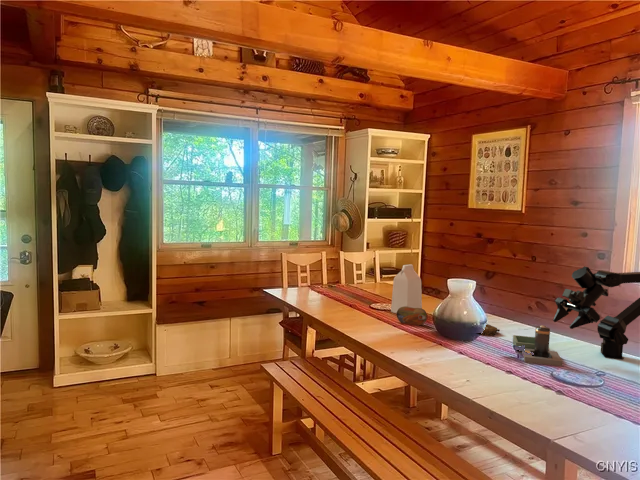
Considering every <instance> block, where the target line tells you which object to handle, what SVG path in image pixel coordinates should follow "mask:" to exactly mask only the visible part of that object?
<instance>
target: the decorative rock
mask: <svg viewBox="0 0 640 480" xmlns="http://www.w3.org/2000/svg"><path fill="white" fill-rule="evenodd" d="M486 324H487V325H486V327H485V330H484V331H483V333H482V336H487V337H490V336H494V335H496V334H498V333H497V332H501V331H500V329H499V328H497V327H495V326H493V325H491V324H488V323H486Z"/></svg>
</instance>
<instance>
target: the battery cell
mask: <svg viewBox="0 0 640 480" xmlns="http://www.w3.org/2000/svg"><path fill="white" fill-rule="evenodd" d="M534 330H535V331H534V333H535V334H534V337H535V347H534V356H535V357H544V358H549V357H548V354H549V351H550V335H551V328H550V327H548V326H546V325H538V326H537V325H536V326H535V329H534Z"/></svg>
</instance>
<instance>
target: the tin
mask: <svg viewBox="0 0 640 480" xmlns="http://www.w3.org/2000/svg"><path fill="white" fill-rule="evenodd" d="M396 318H397V320H398V322H400V323H402V324H406V325H413V326H423V325H424V324H425V323H426V322H427V321H428V313H427V312H426V310H425V309H423V307H422V308H415V307H407V306H404V307H401V308H399V309H398V311H397V313H396Z"/></svg>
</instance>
